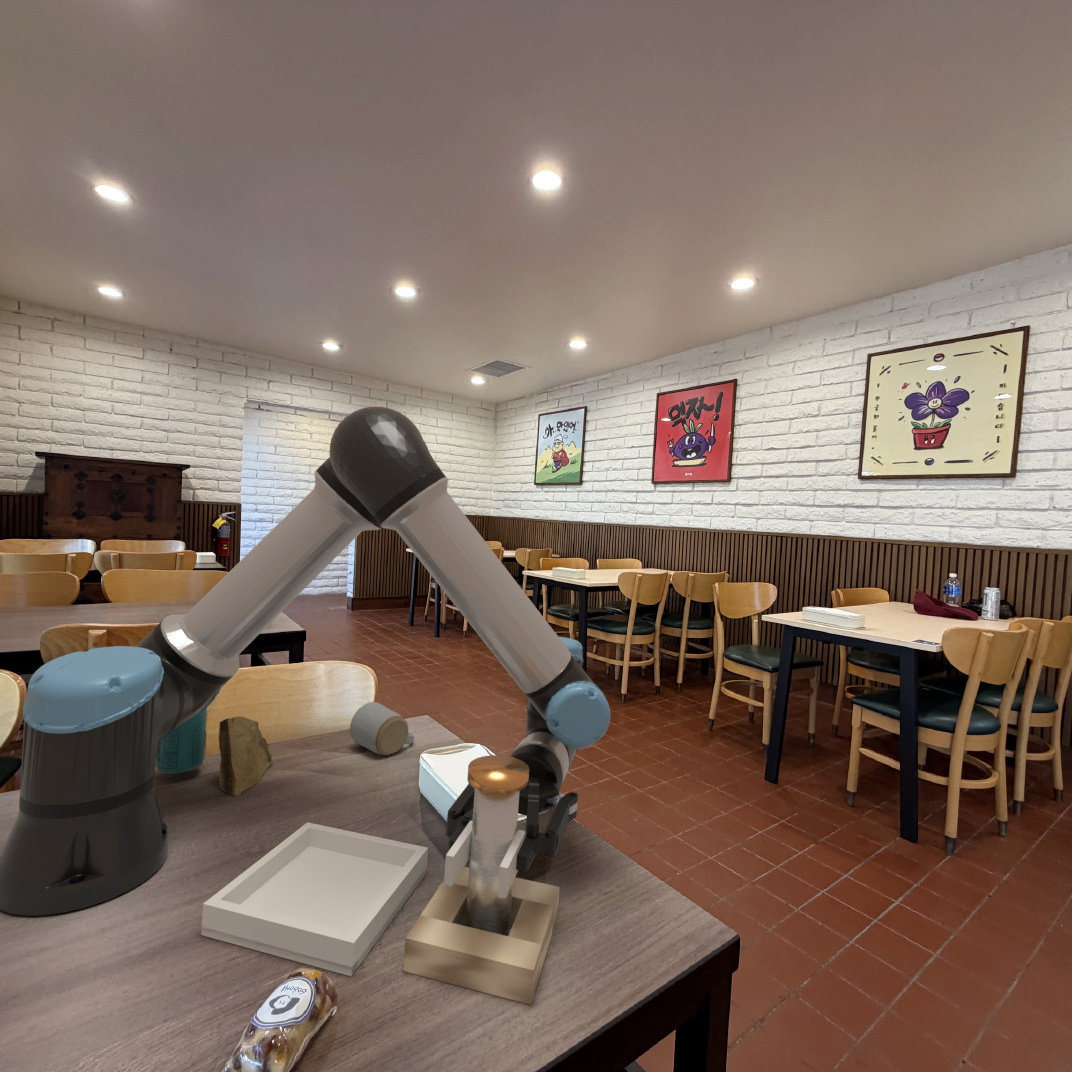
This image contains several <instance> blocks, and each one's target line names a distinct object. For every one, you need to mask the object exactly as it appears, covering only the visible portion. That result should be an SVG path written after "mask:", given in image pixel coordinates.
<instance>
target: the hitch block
mask: <svg viewBox="0 0 1072 1072" xmlns="http://www.w3.org/2000/svg"><path fill="white" fill-rule="evenodd" d="M468 881H469V867H468V866H464V868H463V869H462V871H461V872H460V874H459V876H458V877H457V879H456V880H455V882H454V884H453V885H452V886H447V885H444V879H443V881H442V882H441V883H440V885H439V886H438V888H437V890H436V891H435V893H434V894H433V896H432V897H431V899H430V900H429V902H428V903H427V905H426V906H425V908H424V909H423V911H422V912H421V914H420V915H419V917H418V918H417V920H416V921H415V923H414V924H413V926H412V927H411V929H410V931H408V933H407V935H406V937H405V941H404V953H403V965H402V966H403V969H402V971H403V972H406V973H410V974H412V975H413V974H414V975H418V976H421V977H425V978H429V979H433V980H437V981H440V982H444V983H447V984H450V985H451V984H452V985H455V986H458V987H463V988H466V989H470V990H473V991H478V992H480V993H485V994H490V995H492V996H495V997H496V996H497V997H500V998H503V999H507V1000H510V1001H515V1002H519V1003H523V1004H526V1005H530V1006H532V1004H533V1001H534V997H535V994H536V991H537V988H538V984H539V980H540V977H541V973H542V969H543V967H544V963H545V959H546V957H547V953H548V950H549V945H550V942H551V940H552V935H553V932H554V931H555V930H554V929H555V926H556V923H557V919H558V915H559V903H560V892H561V891H560V888H561V887H560V886H557V885H553V884H547V883H542V882H538V881H533V880H530V879H529V880H528V879H524V878H520V877H516V876H515V879H514V881H513V892H512V906H511V920H510V933H509V936H504V935H500V934H496V933H492V932H488V931H484V930H480V929H475V928H471V927H467V926H465V924H466V910H467V895H468Z"/></svg>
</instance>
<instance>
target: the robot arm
mask: <svg viewBox="0 0 1072 1072" xmlns="http://www.w3.org/2000/svg"><path fill="white" fill-rule="evenodd" d="M448 482H449V478H448V477H447V476H446V475H445V473H444V472H443V471H442V470H441V468H440V467H439V465H438V463H437V462H436V461H435V459H434V458H433V456H432V454H431V452H430V450H429V448H428V445H427V444H426V441H425V440H424V438H423V436H422V434H421V432H420V430H419V429H418V427H417V426H416V424H415V423H414V422H413V421H412V420H411V419H410V418H409V417H407V416H406V415H404V414H403V413H401V412H400V411H398V410H394V409H392V408H388V407H385V406H384V407H383V406H368V407H363V408H360V409H358V410H355V411H353V412H351V413H350V414H348V415H346V416H345V417H344V418H343V419H342V420H341V421H340V422H339V424H338V425H337V427H336V428H335V429H334V430H333V434H332V436H331V439H330V444H329V457H327V459H326V460H325V461H324V462H323V463H322V464H321V465H320V466H319V467H317V469H316V470H315V471H314V488H313V489H312V490H311V491H310V492H309V493H308V494H307V495H306V496H305V497H304V498H303V499H302V500H301V501H300V502H299V503H298V504H297V505H296V506H295V507H294V508H292V510H291V511H289V513H288V514H287V515H285V517H283V519H281V521H280V522H278V524H277V525H275V527H273V528H272V529H271V530H270V531H269V532H268V533H267V534H266V535H265V536H264V537H263V538H262V539H261V540H260V541H259V542H258V543H257V544H256V545H255V546H254V547H253V548H252V549H251V550H250V551H249V552H248V553H246V555H244V556H243V558H242V559H241V560H240V561H239V562H238V563H237V564H235V565H234V567H233V568H232V569H231V570H230V571H228V573H226V574H225V575H224V576H223V577H222V578H221V579H220V580H219V581H218V582H217V583H216V584H215V585H214V586H213V587H212V588H211V589H210V590H209V591H208V592H207V593H206V594H205V595H204V596H203V597H202V598H201V599H200V600H199V601H198V602H197V603H196V604H195V605H194V606H192V608H191V609H190V610H188V612H186V613H185V614H184V613H183V614H170V615H167V616H165V618H163V619H162V620H161V621H160V622H159V623H158V624H157V625H156V626H155V627H154V628H153V629H152V630H151V631H150V632H149V633H148V634H147V635H145V636H144V638H143V639H141V640H140V641H139V642H138V644H136V645H135V646H129V645H128V646H127V645H124V646H123V645H116V646H115V645H113V646H103V647H102V646H101V647H94V648H90V649H89V650H87V651H75V652H71V653H68V654H67V653H66V654H64V655H62V656H58V657H55V658H54V659H51V660H50V661H48V662H46V663H44V664H43V665H41V666H39V668H38V669H37V670H36V671H34V673H33V674H32V676H31V677H30V679H29V682H28V685H27V692H26V698H25V699H24V702H23V705H22V716H23V735H22V738H23V739H22V752H21V753H22V755H21V771H20V787H19V804H18V805H19V806H18V813H17V817H16V820H15V822H14V824H13V826H12V829H11V830H10V833H9V835H8V838H7V839H6V842H5V845H4V847H3V849H2V853H1V855H0V911H2V912H4V913H8V914H10V915H11V914H12V915H18V916H31V917H32V916H33V917H34V916H47V915H48V916H49V915H55V914H57V915H58V914H62V913H67V912H73V911H77V910H80V909H85V908H89V907H91V906H95V905H97V904H100V903H103V902H106V901H109V900H111V899H113V898H116V897H118V896H121V895H122V894H124V893H127V892H129V891H130V890H133V889H134V888H136V887H137V886H139V885H140V884H143V883H144V882H145V881H147V880H148V879H149V878H150V877H152V876H153V875H154V874H155V873H156V872H157V871H159V870H160V868H161V867H162V866H163V865H164V863H165V862H166V859H167V857H168V854H169V838H170V837H169V829H168V826H167V824H166V823H165V819H164V816H163V812H162V809H161V806H160V803H159V800H158V798H157V794H156V792H155V791H156V790H155V774H156V751H157V743H158V742H159V741H160V740H161V739H163V738H164V737H166V736H167V735H168V734H170V733H171V732H173V731H174V730H175V729H177V728H178V727H180V726H181V725H182V724H184V723H185V722H187V721H188V720H190V719H192V718H193V717H194V716H197V715H198V714H200V713H201V712H203V711H204V710H205V709H206V708H207V709H208V708H209V707H210V705H211V704H212V703H213V702H214V700H216V697H217V696H218V695H219V693H220V691H221V689H222V688H224V686H225V685H226V684H227V683H228V682H229V681H230V680H231V679H232V678H233V677H234V676H235V675H236V674H237V673H238V671H239V669H240V654H241V653H242V651H244V650H245V649H246V648H247V647H248V646H249V645H250V644H251V643H252V642H253V641H254V640H255V639H256V638H257V637H258V636H259V635H260V634H261V633H262V632H263V631H264V630H265V629H266V628H267V627H268V626H269V625H270V624H271V622H273V621H274V620H275V619H276V618H277V617H278V616H279V615H280V614H281V613H282V612H283V611H284V610H285V609H286V608H287V607H288V605H290V604H291V603H292V602H293V601H294V600H295V599H296V598H297V597H298V596H299V595H300V594H301V593H302V592H303V591H304V590H305V589H306V588H307V587H308V586H309V585H310V584H311V583H312V582H313V581H314V580H315V579H316V578H317V577H318V576H319V575H320V574H321V573H322V572H323V571H325V569H326V568H327V567H328V566H329V565H330V564H331V563H332V562H333V561H334V560H335V559H336V558H337V557H338V556H339V555H340V554H341V553H342V552H343V551H344V550H345V548H347V547H348V546H349V545H350V544H351V543H352V542H353V541H354V540H355V539H356V538H357V537H358V536H359V535H360V534H361V533H362V532H365V531H380V530H381V529H382V528H383V529H388V530H393V531H396V533H397V534H398V535H399V536H400V538H401V539H402V540H403V542H404V543H405V544H406V545H407V547H408V548H409V549H410V550H411V551H412V553H413V554H414V555H415V557H416V558H417V559H418V560H419V562H420V563H421V564H422V565H423V567H424V568H425V570H427V572H428V573H429V574H430V576H431V577H432V578H433V579H434V581H435V582H436V583H437V584H438V586H439V587H440V588H441V589H442V591H443V593H445V595H446V596H447V597H448V599H450V601H451V602H452V603H453V605H454V606H455V607H456V609H458V611H459V612H460V614H461V615H462V616H463V618H464V619H465V620H466V622H468V624H469V625H470V627H471V628H472V629H473V630H474V631H475V633H476V634H477V635H478V636H479V637H480V639H481V640H482V641H483V642H484V644H485V645H486V646H487V648H488V649H489V650H490V651H491V653H492V654H493V655H494V656H495V658H496V659H497V660H498V662H499V663H500V664H501V665H502V667H503V668H504V669H505V670H506V672H507V673H508V674H509V675H510V677H511V678H512V679H513V680H514V681H515V683H516V684H517V686H518V688H520V689H521V691H522V692H523V693H524V694H525V696H526V698H528V699H527V709H526V720H525V722H526V723H525V733H524V734H525V735H524V737H523V738H522V740H521V741H520V743H519V744H518V745H517V746H516V747H515V749H514V750H513V752H512V753H511V754H510V756H509V757H513V758H516V759H519V760H521V761H523V762H525V763H526V764H527V765H528V767H529V780H528V785H527V786H526V787H525V788H524V789H522V790H520V792H519V806H518V815H522V816H526V821H525V822H526V823H525V825H526V826H525V827H526V829H525V830H522V829H517V834H516V836H515V838H514V839H513V841H512V843H511V845H510V847H509V849H508V851H507V853H506V855H505V857H504V859H503V861H502V863H501V864H500V866H499V880H498V895H497V897H500V898H505V899H506V896H507V894H508V892H509V890H510V888H511V885H512V883H513V881H514V879H515V877H516V876H517V874H518V872H519V871H520V872H525V873H526V872H528V871H529V870H530V868H531V866H532V863H533V861H534V858H536V857H537V856H538V854H543V856H544V857H546V858H547V859H548V858H549V859H552V858H555V856H556V855H557V853H558V850H559V848H560V845H561V843H562V839H563V837H564V835H565V833H566V830H567V827H568V825H569V823H571V822H572V820H575V818H577V815H578V800H579V794H578V793H577V792H574V791H570V792H568V793H566V794H563V793H562V794H561V793H560V790H561V788H562V785H563V782H564V781H565V779H566V777H567V773H568V771H569V769H570V767H571V765H572V763H573V760H574V759H575V757H576V754H577V753H578V751H579V749H583V748H584V749H585V748H587V747H588V748H589V747H590V746H593V745H594V744H596V743H597V742H599V741H600V740H601V738H603V737H604V736H605V733H607V731H608V728H609V726H610V722H611V708H610V704H609V701H608V700H607V699H606V698H607V697H606V695H605V694H604V692H603V691H602V690H601V688H600V687H599V686H598V685H597V684H595V682H594V681H593V680H592V679H591V677H590V676H589V675H588V674H587V672H586V671H585V670H584V669H583V663H584V657H583V645H582V643H581V642H580V641H578V640H576V639H573V638H569V637H564V636H558V634H557V633H556V632H555V630H553V627H552V626H551V625H550V624H549V623H548V622H547V620H546V619H545V617H543V615H542V614H541V612H540V611H539V610H538V609H537V607H536V606H535V604H534V603H533V602H532V600H531V599H530V598H529V596H527V594H526V593H525V591H524V590H523V589H522V587H521V586H520V584H518V583H517V581H516V580H515V579H514V577H513V576H512V575H511V573H510V571H508V570H507V568H506V566H505V565H504V564H503V563H502V562H501V560H500V559H499V558H498V556H497V555H496V554H495V552H494V551H493V549H492V548H491V547H490V546H489V544H488V543H487V542H486V540H485V539H484V538H483V537H482V535H481V534H480V533H479V531H478V530H477V529H476V528H475V526H474V525H473V523H471V521H470V520H469V518H468V517H467V516H466V515H465V513H464V512H463V510H462V509H461V508H460V507H459V505H458V504H457V503H456V501H455V500H454V499H453V497H452V496H451V495H450V494H449V491H448V484H449V483H448ZM467 783H468V782H467ZM474 795H475V788H474V787H472V786H471V785H470V784H469V783H468V784H467V785H466V787H464V789H463V790H462V792H461V793H460V795H459V796H458V797H457V799H456V800H454V802H453V803H452V805H450V807H449V809H448V810H447V816H446V829H445V830H446V832H445V834H446V836H447V837H449V839H448V840H449V842H448V851H447V853H446V855H445V863H444V878H443V880H444V885H447V886H452V885H453V884H454V882H455V880H456V879H457V877H458V876H459V874H460V872H461V871H462V869H463V868H464V867H466V865H467V863H468V861H470V852H471V838H472V823H473V809H474ZM554 808H555V809H554ZM550 809H554V810H553V812H552V814H551V817H550V819H549V821H548V823H547V826H546V828H545V830H544V832H543V831H540V832H539V828H540V822H539V817H540V816H539V815H540V813H542V812H545V811H548V810H550Z"/></svg>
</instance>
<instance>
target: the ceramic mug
mask: <svg viewBox="0 0 1072 1072" xmlns="http://www.w3.org/2000/svg"><path fill="white" fill-rule="evenodd" d="M349 732H350V737H351V739H352V741H353V742H354V743H355V744H358V745H360V747H361V746H362V747H363V748H366V749H367V750H369V751H371V752H373V753H374V754H377V755H381V756H385V755H388V756H391V755H390V754H392V755H394V754H396V753H397V752H399V751H400V750H401V749H402V748H403V746H404V745H409V744H411V743H412V744H413V742H414V740H415V735H414V734H412V733H410V732H409V726H408V722H407V720H406V719H405V718H404V717H403V716H402V715H400V714H399V713H398V712H395V711H393V710H392V709H390V708H388V707H387V706H385V705H383V704H381V703H380V702H376V701H372V702H367V703H365V704H363V705H362V706H361V707H359V708H358V709H357V711H355V713H354V715H353V716H352V719H351V721H350V727H349ZM412 744H411V745H412ZM398 750H399V751H398ZM395 752H396V753H395ZM393 753H394V754H393Z"/></svg>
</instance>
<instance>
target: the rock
mask: <svg viewBox="0 0 1072 1072" xmlns="http://www.w3.org/2000/svg"><path fill="white" fill-rule="evenodd" d="M262 735H263V734H262V732H261V730H260V728H259V721H256V720H253V719H250V718H247V717H245V716H239V715H238V716H234V717H232V718H231V717H229V718H228V717H227V718H225V719H223V720H221V721H220V722H219V729H218V745H219V752H220V753H219V754H220V764H219V775H218V777H219V788H220V789H221V790H222V791H224V792H225V793H226V794H228V795H231V796H233V797H239V796H240V795H241V794H242V793H243V792H245V791H247V790H248V789H251V788H252V787H253V786H256V784H257V783H259V781H260V780H261V778H262V777H263V775H264V774H265V772H266V770H267V769H268V768H269V767H271V765H273V763H274V760H273V757H272V753H271V752H270V749H269V744H268V742H267V740H266V738H265V737H263V736H262Z"/></svg>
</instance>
